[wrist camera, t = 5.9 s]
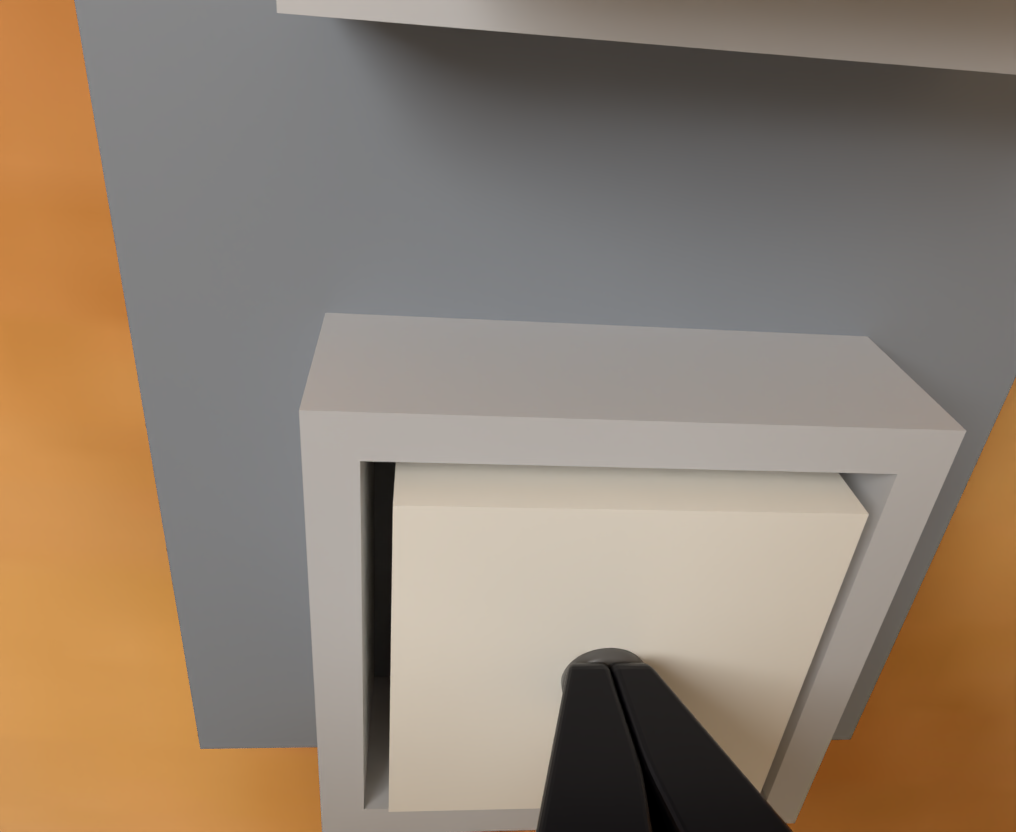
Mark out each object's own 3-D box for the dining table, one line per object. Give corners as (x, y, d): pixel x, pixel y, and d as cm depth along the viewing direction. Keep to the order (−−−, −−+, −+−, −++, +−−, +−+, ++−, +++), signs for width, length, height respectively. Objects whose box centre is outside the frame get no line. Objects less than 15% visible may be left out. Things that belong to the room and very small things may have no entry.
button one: (708, 673, 12) (760, 814, 10) (395, 674, 11) (387, 824, 9) (788, 405, 9) (876, 523, 7) (400, 392, 9) (392, 516, 7)
